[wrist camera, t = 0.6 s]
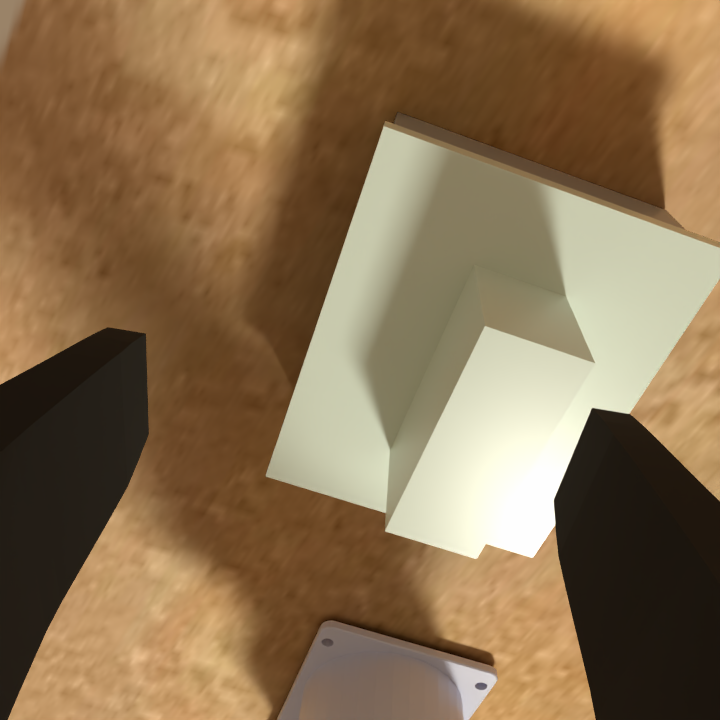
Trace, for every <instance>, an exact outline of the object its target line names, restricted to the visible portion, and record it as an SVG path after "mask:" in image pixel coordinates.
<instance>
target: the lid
mask: <svg viewBox="0 0 720 720" xmlns="http://www.w3.org/2000/svg"><path fill="white" fill-rule="evenodd" d="M719 279H720V242H717V241H715V240H712V239H709V238H706V237H704V236H701V235H698V234H695V233H693V232H690V231H687V230H684V229H682V228H679V227H676V226H673V225H671V224H668V223H665V222H662V221H660V220H657V219H654V218H651V217H649V216H646V215H643V214H640V213H638V212H635V211H632V210H629V209H627V208H624V207H621V206H618V205H616V204H613V203H610V202H607V201H605V200H602V199H599V198H596V197H594V196H591V195H588V194H585V193H583V192H580V191H577V190H574V189H572V188H569V187H566V186H563V185H561V184H558V183H555V182H552V181H550V180H547V179H544V178H541V177H539V176H536V175H533V174H530V173H528V172H525V171H522V170H519V169H517V168H514V167H511V166H509V165H506V164H503V163H500V162H498V161H495V160H492V159H489V158H487V157H484V156H481V155H478V154H476V153H473V152H470V151H467V150H465V149H462V148H459V147H456V146H454V145H451V144H448V143H445V142H443V141H440V140H437V139H434V138H432V137H429V136H426V135H423V134H421V133H418V132H415V131H412V130H410V129H407V128H404V127H401V126H399V125H396V124H393V123H390V122H388V121H385V123H384V126H383V129H382V132H381V135H380V138H379V141H378V144H377V147H376V149H375V152H374V155H373V158H372V161H371V164H370V167H369V170H368V173H367V176H366V179H365V182H364V185H363V188H362V191H361V194H360V197H359V200H358V203H357V206H356V209H355V212H354V215H353V218H352V220H351V223H350V226H349V229H348V232H347V235H346V238H345V241H344V244H343V247H342V250H341V253H340V256H339V259H338V262H337V265H336V268H335V271H334V274H333V277H332V280H331V283H330V286H329V288H328V291H327V294H326V297H325V300H324V303H323V306H322V309H321V312H320V315H319V318H318V321H317V324H316V327H315V330H314V333H313V336H312V339H311V342H310V345H309V348H308V351H307V354H306V357H305V359H304V362H303V365H302V368H301V371H300V374H299V377H298V380H297V383H296V386H295V389H294V392H293V395H292V398H291V401H290V404H289V407H288V410H287V413H286V416H285V419H284V422H283V425H282V428H281V430H280V433H279V436H278V439H277V442H276V445H275V448H274V451H273V454H272V457H271V460H270V463H269V466H268V469H267V473H266V477H269V478H272V479H275V480H279V481H282V482H285V483H288V484H292V485H295V486H298V487H302V488H305V489H308V490H311V491H315V492H318V493H321V494H324V495H328V496H331V497H334V498H338V499H341V500H344V501H347V502H351V503H354V504H357V505H361V506H364V507H367V508H370V509H374V510H377V511H380V512H383V513H386V519H385V532H389V533H392V534H395V535H398V536H402V537H405V538H408V539H412V540H415V541H418V542H422V543H425V544H428V545H432V546H435V547H438V548H441V549H445V550H448V551H451V552H455V553H458V554H461V555H465V556H468V557H471V558H474V559H477V557H478V556H479V554H480V552H481V551H482V549H483V548H484V546H485V544H488V545H492V546H495V547H498V548H501V549H505V550H508V551H511V552H514V553H518V554H521V555H524V556H528V557H531V558H533V557H534V555H535V554H536V552H537V551H538V549H539V548H540V546H541V545H542V543H543V542H544V540H545V539H546V538H547V536H548V535H549V533H550V532H551V530H552V529H553V527H554V526H555V513H554V498H555V496H556V493H557V491H558V488H559V486H560V484H561V481H562V479H563V476H564V474H565V472H566V469H567V467H568V464H569V462H570V460H571V457H572V455H573V452H574V450H575V448H576V445H577V443H578V440H579V438H580V436H581V433H582V431H583V428H584V426H585V424H586V421H587V419H588V416H589V414H590V412H591V409H592V408H596V409H602V410H608V411H614V412H620V413H626V414H629V413H630V412H631V410H632V409H633V407H634V406H635V404H636V403H637V401H638V400H639V399H640V397H641V396H642V394H643V393H644V391H645V390H646V388H647V387H648V385H649V384H650V382H651V381H652V379H653V378H654V376H655V375H656V373H657V372H658V370H659V369H660V367H661V366H662V364H663V363H664V361H665V360H666V358H667V357H668V355H669V354H670V352H671V351H672V349H673V348H674V346H675V345H676V343H677V342H678V340H679V339H680V337H681V336H682V334H683V333H684V331H685V330H686V328H687V327H688V325H689V324H690V322H691V321H692V319H693V318H694V316H695V315H696V313H697V312H698V310H699V309H700V307H701V306H702V304H703V303H704V301H705V300H706V298H707V297H708V295H709V294H710V292H711V291H712V289H713V288H714V286H715V285H716V283H717V282H718V280H719Z"/></svg>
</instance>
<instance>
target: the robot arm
mask: <svg viewBox="0 0 720 720" xmlns="http://www.w3.org/2000/svg"><path fill="white" fill-rule="evenodd" d="M148 434H149V428H148V395H147V362H146V334H144V333H138V332H132V331H126V330H120V329H114V328H105V329H103V330H101V331H99V332H97V333H95V334H93V335H91V336H89V337H87V338H85V339H84V340H82V341H80V342H78V343H76V344H74V345H73V346H71V347H69V348H67V349H65V350H64V351H62V352H60V353H58V354H56V355H55V356H53V357H51V358H49V359H47V360H45V361H44V362H42V363H40V364H38V365H36V366H34V367H32V368H31V369H29V370H27V371H25V372H23V373H21V374H19V375H18V376H16V377H14V378H12V379H10V380H8V381H6V382H5V383H3V384H1V385H0V720H8V717H9V715H10V713H11V710H12V708H13V706H14V703H15V701H16V698H17V696H18V694H19V691H20V689H21V687H22V685H23V682H24V680H25V678H26V676H27V673H28V671H29V669H30V667H31V665H32V662H33V660H34V658H35V656H36V653H37V651H38V649H39V647H40V644H41V642H42V640H43V638H44V635H45V633H46V631H47V629H48V627H49V625H50V623H51V621H52V619H53V618H54V616H55V614H56V612H57V610H58V608H59V606H60V604H61V602H62V601H63V599H64V597H65V595H66V594H67V592H68V590H69V588H70V587H71V585H72V583H73V581H74V580H75V578H76V576H77V574H78V573H79V571H80V569H81V567H82V566H83V564H84V562H85V561H86V559H87V557H88V555H89V554H90V552H91V550H92V548H93V547H94V545H95V543H96V541H97V540H98V538H99V536H100V535H101V533H102V531H103V529H104V528H105V526H106V524H107V522H108V521H109V519H110V517H111V515H112V513H113V512H114V510H115V508H116V506H117V505H118V503H119V501H120V499H121V497H122V496H123V494H124V492H125V490H126V488H127V487H128V484H129V482H130V479H131V477H132V475H133V472H134V470H135V468H136V465H137V463H138V460H139V458H140V455H141V452H142V450H143V447H144V445H145V442H146V440H147V437H148ZM554 513H555V525H556V536H557V545H558V555H559V560H560V565H561V569H562V574H563V578H564V582H565V587H566V591H567V595H568V600H569V604H570V608H571V612H572V616H573V621H574V625H575V629H576V633H577V637H578V641H579V646H580V650H581V654H582V658H583V662H584V666H585V670H586V675H587V679H588V683H589V687H590V692H591V697H592V702H593V707H594V712H595V718H596V720H720V501H719V500H718V499H717V498H716V497H715V496H714V495H712V494H711V493H710V492H709V491H708V490H707V489H706V488H705V487H704V486H703V485H702V484H701V483H700V482H699V481H698V480H697V479H696V478H695V477H694V476H693V475H692V474H691V473H690V472H689V471H688V470H687V469H686V468H685V467H684V466H683V465H682V464H681V463H680V462H679V461H678V460H677V459H676V458H675V457H674V456H673V455H672V454H671V453H670V452H669V451H668V450H667V449H666V448H665V447H664V446H663V445H662V444H661V443H660V442H659V441H658V440H657V439H656V438H655V437H654V436H653V435H652V434H651V433H650V432H649V431H648V430H647V429H646V428H645V427H644V426H643V425H642V424H641V423H639V422H638V421H637V420H636V419H635V418H634V417H633V416H631V415H630V414H626V413H620V412H614V411H608V410H602V409H596V408H592V409H591V412H590V414H589V416H588V419H587V421H586V424H585V426H584V428H583V431H582V433H581V436H580V438H579V440H578V443H577V445H576V448H575V450H574V452H573V455H572V457H571V460H570V462H569V464H568V467H567V469H566V472H565V474H564V476H563V479H562V481H561V484H560V486H559V488H558V491H557V493H556V496H555V498H554ZM497 679H498V678H497V671H496V669H495V668H494V667H492V666H490V665H487V664H483V663H480V662H476V661H473V660H469V659H466V658H462V657H459V656H455V655H452V654H448V653H445V652H441V651H438V650H434V649H431V648H427V647H424V646H421V645H417V644H414V643H410V642H407V641H403V640H400V639H396V638H393V637H389V636H386V635H382V634H379V633H375V632H372V631H368V630H365V629H361V628H358V627H354V626H351V625H347V624H344V623H340V622H337V621H332V620H330V621H326V622H323V623H322V624H321V626H320V628H319V630H318V632H317V634H316V636H315V639H314V641H313V643H312V645H311V647H310V649H309V651H308V654H307V656H306V658H305V660H304V662H303V664H302V666H301V669H300V671H299V673H298V675H297V677H296V679H295V681H294V684H293V686H292V688H291V690H290V692H289V694H288V696H287V699H286V701H285V703H284V705H283V707H282V709H281V711H280V714H279V716H278V718H277V720H469V719H470V717H471V716H472V715H473V713H474V712H475V711H476V709H477V708H478V706H479V705H480V704H481V702H482V701H483V700H484V698H485V697H486V695H487V694H488V693H489V691H490V690H491V689H492V687H493V686H494V685H495V683H496V682H497Z"/></svg>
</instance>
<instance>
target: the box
mask: <svg viewBox="0 0 720 720" xmlns="http://www.w3.org/2000/svg"><path fill="white" fill-rule="evenodd" d="M393 124H396V125H399V126H401V127H404V128H407V129H410V130H412V131H415V132H418V133H421V134H423V135H426V136H429V137H432V138H434V139H437V140H440V141H443V142H445V143H448V144H451V145H454V146H456V147H459V148H462V149H465V150H467V151H470V152H473V153H476V154H478V155H481V156H484V157H487V158H489V159H492V160H495V161H498V162H500V163H503V164H506V165H509V166H511V167H514V168H517V169H519V170H522V171H525V172H528V173H530V174H533V175H536V176H539V177H541V178H544V179H547V180H550V181H552V182H555V183H558V184H561V185H563V186H566V187H569V188H572V189H574V190H577V191H580V192H583V193H585V194H588V195H591V196H594V197H596V198H599V199H602V200H605V201H607V202H610V203H613V204H616V205H618V206H621V207H624V208H627V209H629V210H632V211H635V212H638V213H640V214H643V215H646V216H649V217H651V218H654V219H657V220H660V221H662V222H665V223H668V224H671V225H673V226H676V227H679V228H682V229H684V228H683V227H682V226H681V225H680V224H679V223H678V222H677V221H676V220H675V219H674V218H673V217H672V216H671V215H670V214H669V213H668V212H667V211H666V210H664V209H662V208H659V207H656V206H653V205H651V204H648V203H645V202H642V201H640V200H637V199H634V198H632V197H629V196H626V195H623V194H621V193H618V192H615V191H612V190H610V189H607V188H604V187H601V186H599V185H596V184H593V183H591V182H588V181H585V180H582V179H580V178H577V177H574V176H571V175H569V174H566V173H563V172H560V171H558V170H555V169H552V168H550V167H547V166H544V165H541V164H539V163H536V162H533V161H530V160H528V159H525V158H522V157H519V156H517V155H514V154H511V153H508V152H506V151H503V150H500V149H498V148H495V147H492V146H489V145H487V144H484V143H481V142H478V141H476V140H473V139H470V138H467V137H465V136H462V135H459V134H457V133H454V132H451V131H448V130H446V129H443V128H440V127H437V126H435V125H432V124H429V123H426V122H424V121H421V120H418V119H416V118H413V117H410V116H407V115H405V114H402V113H399V112H397V115H396V118H395V121H394V123H393ZM684 230H685V229H684Z"/></svg>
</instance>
